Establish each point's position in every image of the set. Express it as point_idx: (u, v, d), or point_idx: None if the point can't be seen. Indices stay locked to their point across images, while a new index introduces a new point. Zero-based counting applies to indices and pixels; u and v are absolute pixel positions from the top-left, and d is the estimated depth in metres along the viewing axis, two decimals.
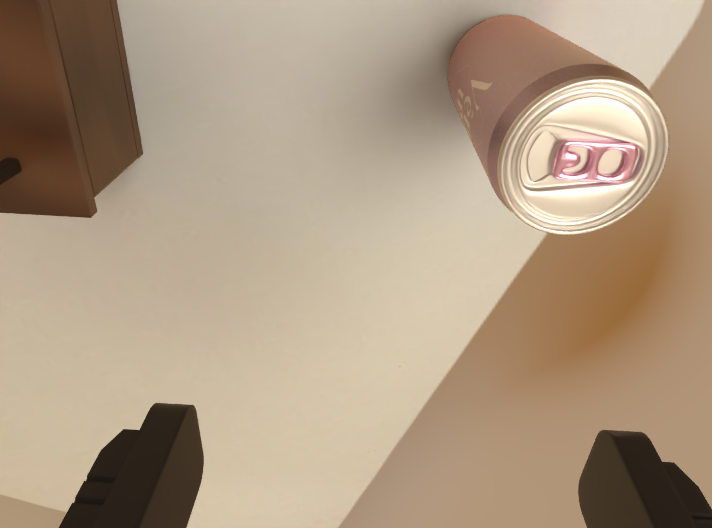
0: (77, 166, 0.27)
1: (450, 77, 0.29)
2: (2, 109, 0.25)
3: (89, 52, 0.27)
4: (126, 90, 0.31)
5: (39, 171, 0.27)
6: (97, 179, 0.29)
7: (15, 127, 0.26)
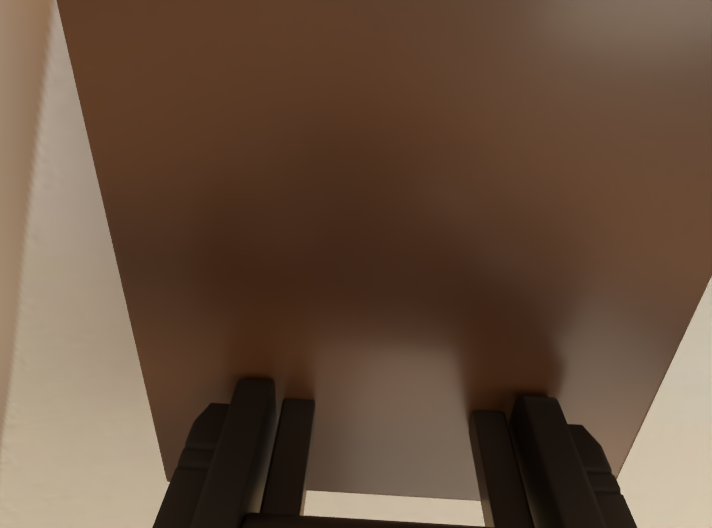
0: (637, 425, 0.11)
1: None
2: (525, 317, 0.10)
3: None
4: None
5: None
6: None
7: (537, 353, 0.10)
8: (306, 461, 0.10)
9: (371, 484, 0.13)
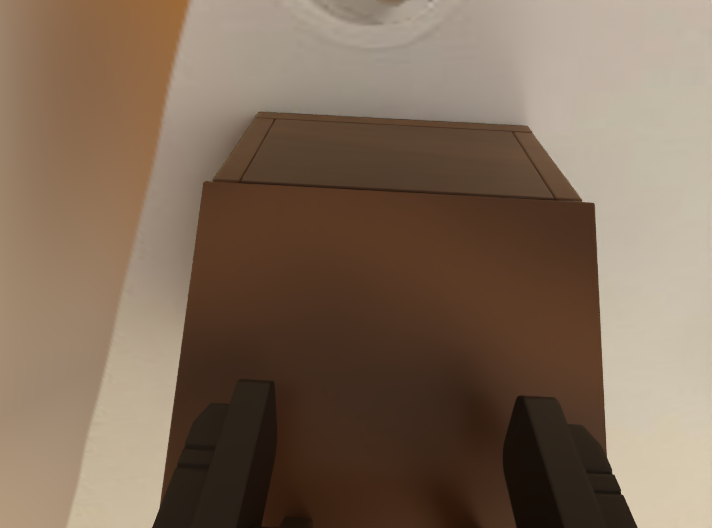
0: None
1: None
2: (481, 420, 0.13)
3: None
4: None
5: None
6: None
7: (498, 457, 0.13)
8: None
9: None
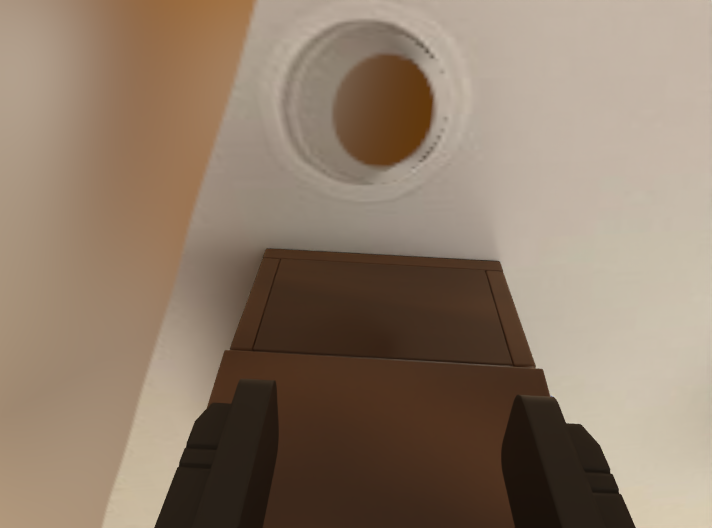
0: None
1: None
2: None
3: None
4: None
5: None
6: None
7: None
8: None
9: None
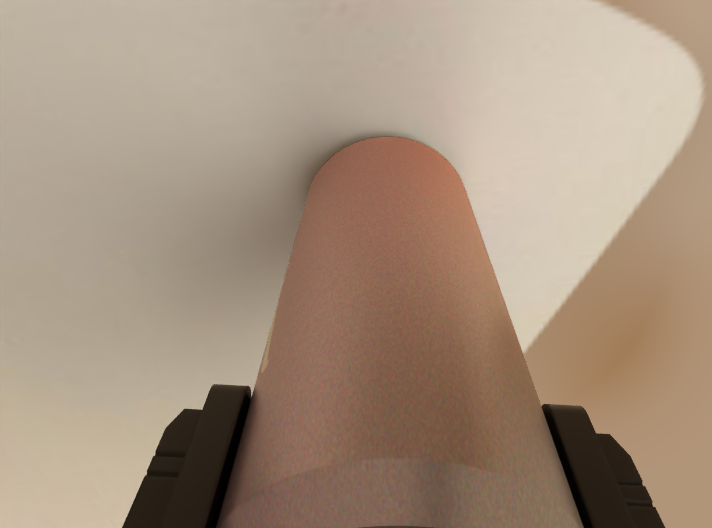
0: None
1: None
2: None
3: None
4: None
5: None
6: None
7: None
8: None
9: None
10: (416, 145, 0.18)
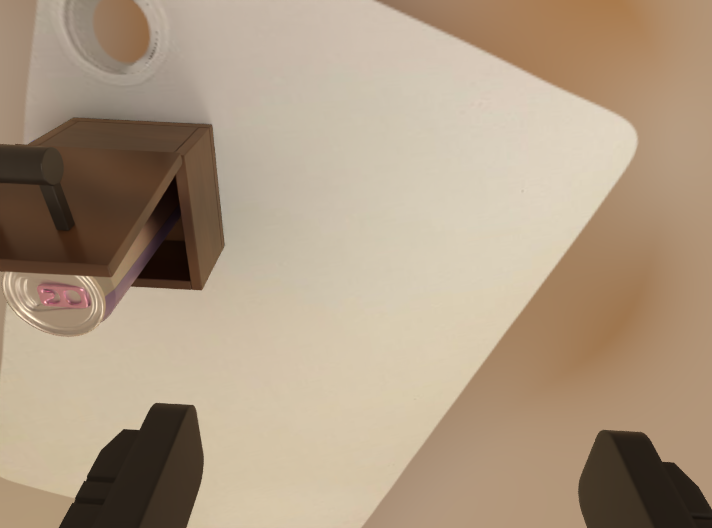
0: (129, 230, 0.27)
1: None
2: (94, 198, 0.29)
3: (201, 192, 0.39)
4: (217, 205, 0.43)
5: (87, 231, 0.27)
6: (203, 277, 0.40)
7: (95, 207, 0.29)
8: None
9: None
10: None
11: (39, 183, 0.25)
